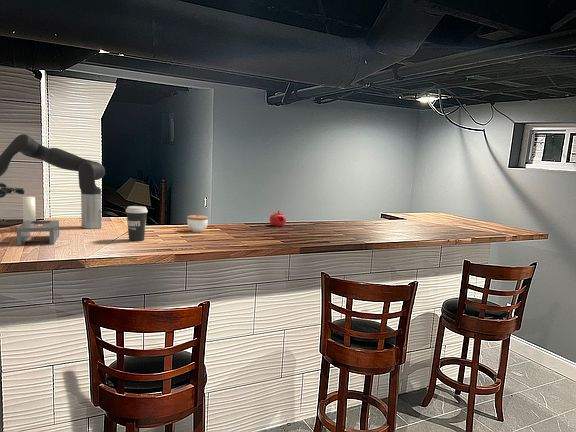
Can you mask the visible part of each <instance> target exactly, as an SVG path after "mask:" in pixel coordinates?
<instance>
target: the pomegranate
mask: <svg viewBox="0 0 576 432" xmlns="http://www.w3.org/2000/svg"><path fill="white" fill-rule="evenodd" d="M286 223H287V219H286V217H285V213H281V212H280V210H279V209H278V210H277V212H274V213H272V214H271V215H270V216H269V224H270V225H271V226H272V227H278V228H279V227H284V226H285V225H286Z"/></svg>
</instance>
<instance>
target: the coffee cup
mask: <svg viewBox="0 0 576 432" xmlns="http://www.w3.org/2000/svg"><path fill="white" fill-rule="evenodd" d="M148 212H149V211H148V209H147V207H146V206H141V205H131V206H130V205H129V206H127V207H126V209H125V213H126V220H127V230H128V231H127V233H128V241H129V242H142V241H145V235H146V225H147V215H148Z"/></svg>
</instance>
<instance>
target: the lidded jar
mask: <svg viewBox="0 0 576 432" xmlns="http://www.w3.org/2000/svg"><path fill="white" fill-rule="evenodd" d="M186 218H187V222H186V223H187V227H188V228H189V230H191V232H193V233H203V232H204V231H205V230H206V229H207V227H208V224H209V216H207V215H201V214H199V213H198V212H197V213H196V214H191V215H187V217H186Z"/></svg>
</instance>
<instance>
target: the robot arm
mask: <svg viewBox="0 0 576 432" xmlns="http://www.w3.org/2000/svg"><path fill="white" fill-rule="evenodd" d="M18 153H20V154H22V155H23V156H26V157H28V158H33V159H37V160H41V161H43V162H45V163H46V164H48V165H50V166H54V167H55V168H58V169H62V170H67V171H74V172H78V186H79V189H80V201H81V202H80V206H81V207H80V208H81V209H80V211H81V212H80V215H81V219H80V220H81V224H80V225H81V228H82V229H90V230H91V229H102V189H101V187H98V186H97V185H96V181H97V180H100V179H102V178H104V177H105V175H106V169H105V167H104V166H103V164H101V163H100V162H98V161H94V160H90V159H85V158H83V157H81V156H78V155H77V154H74V153H71V152H68V151H67V150H64V149H60V148H58V147H46V146H44V145H42V144H40V143H39V142H37V141H36V140H34V138H32V137H31V136H29V135H28V134H25V133H23V134H20V135H17V137H15V138H14V139H13V140H12V141H11V142H10V143H9V144H8V146H7V147H6V148H5V149H4V150H3V152H2V153H1V154H0V177H2V176H3V175H5V173H6V172H7V171H8V168H9V166H10V163H11V161H12V159H13V158H14V157H15V155H17V154H18ZM17 194H18V195H25V190H24V187H14V186H13V187H12V186H11V187H10V186H7V185H6V184H5V183H3V182H0V199H1V198H4V197H6V196H9V195H13V196H14V195H17Z"/></svg>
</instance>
